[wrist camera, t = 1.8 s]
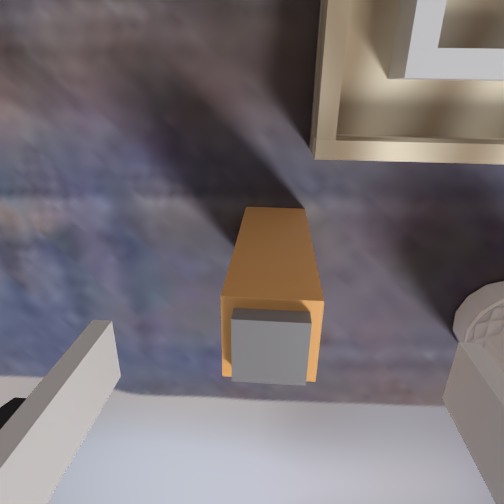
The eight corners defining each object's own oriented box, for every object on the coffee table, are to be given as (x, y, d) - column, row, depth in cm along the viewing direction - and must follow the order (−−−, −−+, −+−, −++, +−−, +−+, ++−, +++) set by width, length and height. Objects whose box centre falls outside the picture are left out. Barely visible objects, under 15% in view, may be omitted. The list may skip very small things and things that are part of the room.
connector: (245, 259, 27) (219, 389, 15) (246, 206, 25) (217, 307, 14) (300, 261, 27) (317, 395, 15) (304, 208, 25) (326, 312, 13)
